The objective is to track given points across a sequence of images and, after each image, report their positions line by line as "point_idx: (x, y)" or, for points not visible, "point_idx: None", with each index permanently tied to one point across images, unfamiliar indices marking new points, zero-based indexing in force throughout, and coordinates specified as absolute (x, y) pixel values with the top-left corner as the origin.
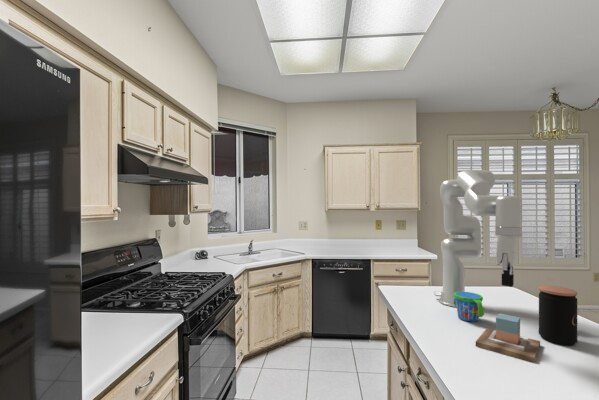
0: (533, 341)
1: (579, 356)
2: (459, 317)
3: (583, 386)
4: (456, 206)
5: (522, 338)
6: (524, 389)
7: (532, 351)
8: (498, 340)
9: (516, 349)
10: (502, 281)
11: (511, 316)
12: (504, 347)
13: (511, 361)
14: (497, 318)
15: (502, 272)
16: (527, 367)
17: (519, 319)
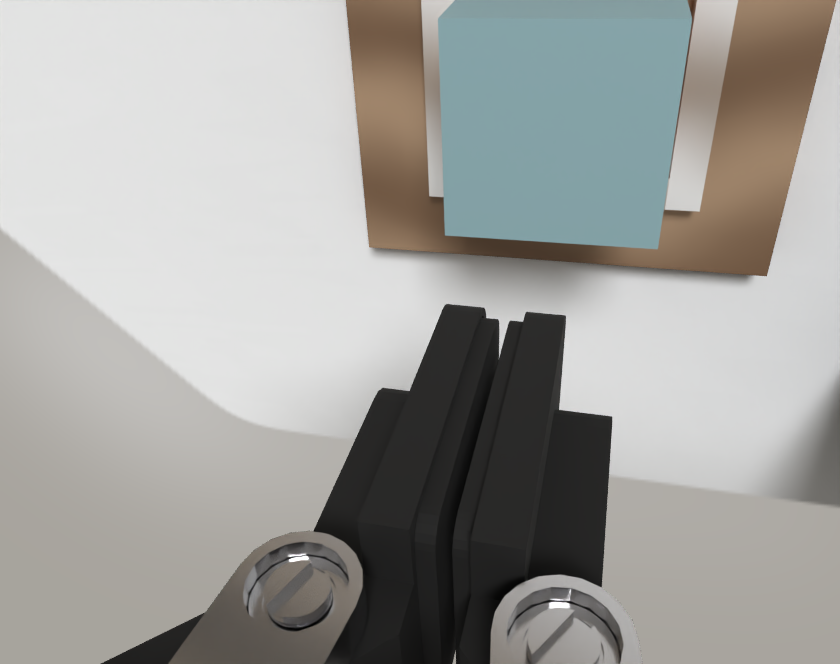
0: (719, 234)
1: (697, 438)
2: None
3: (283, 404)
4: None
5: (670, 170)
6: (15, 203)
7: None
8: (444, 2)
9: (426, 140)
10: (430, 367)
11: (634, 168)
12: (397, 56)
13: (281, 112)
14: (439, 36)
15: (236, 583)
16: (275, 201)
17: (608, 241)
